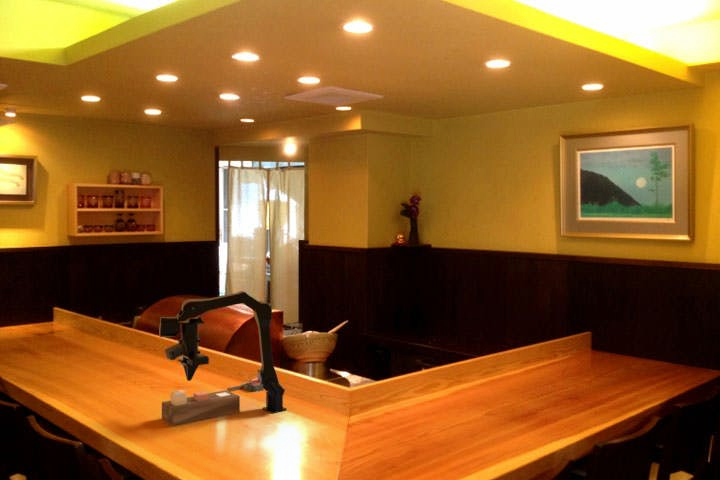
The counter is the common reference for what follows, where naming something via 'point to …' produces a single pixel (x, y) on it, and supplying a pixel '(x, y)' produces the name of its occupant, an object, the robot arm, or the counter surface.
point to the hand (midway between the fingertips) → (189, 380)
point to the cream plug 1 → (178, 397)
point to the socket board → (201, 409)
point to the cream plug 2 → (223, 394)
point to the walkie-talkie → (249, 386)
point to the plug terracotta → (201, 396)
